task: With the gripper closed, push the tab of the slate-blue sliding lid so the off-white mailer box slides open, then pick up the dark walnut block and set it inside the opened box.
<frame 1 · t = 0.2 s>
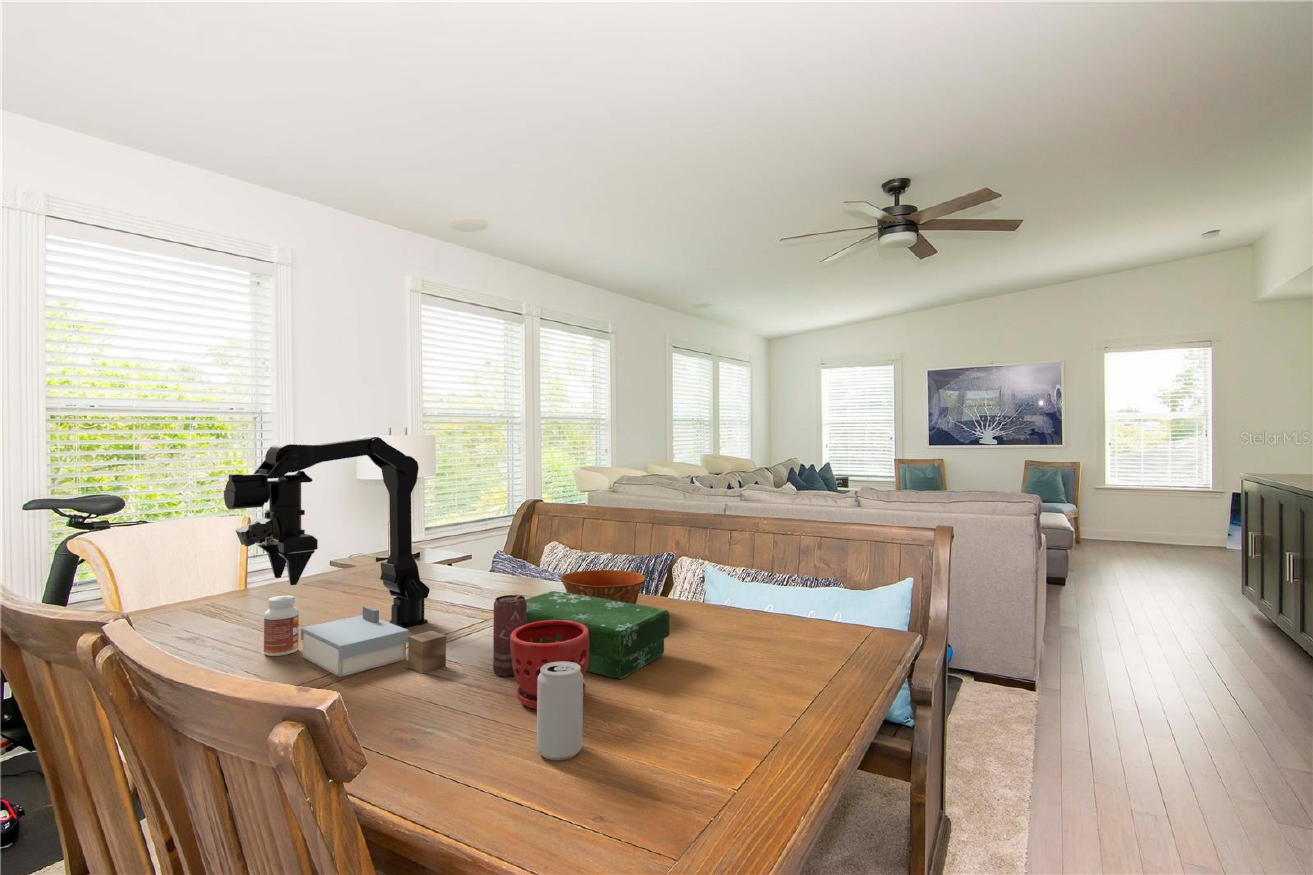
hand: (285, 581, 135), 14 cm above the table, fingers open, 9 cm apart
box: (582, 656, 135), on the table
beverage can: (559, 753, 93), on the table
bowl: (603, 617, 163), on the table
lid: (354, 628, 131), point 6 cm above the table, slide at 0.0 cm
pill bottle: (281, 653, 135), on the table
plant pot: (549, 701, 111), on the table
walnut block: (427, 667, 127), on the table
can: (510, 672, 124), on the table
mailer box: (354, 658, 131), on the table
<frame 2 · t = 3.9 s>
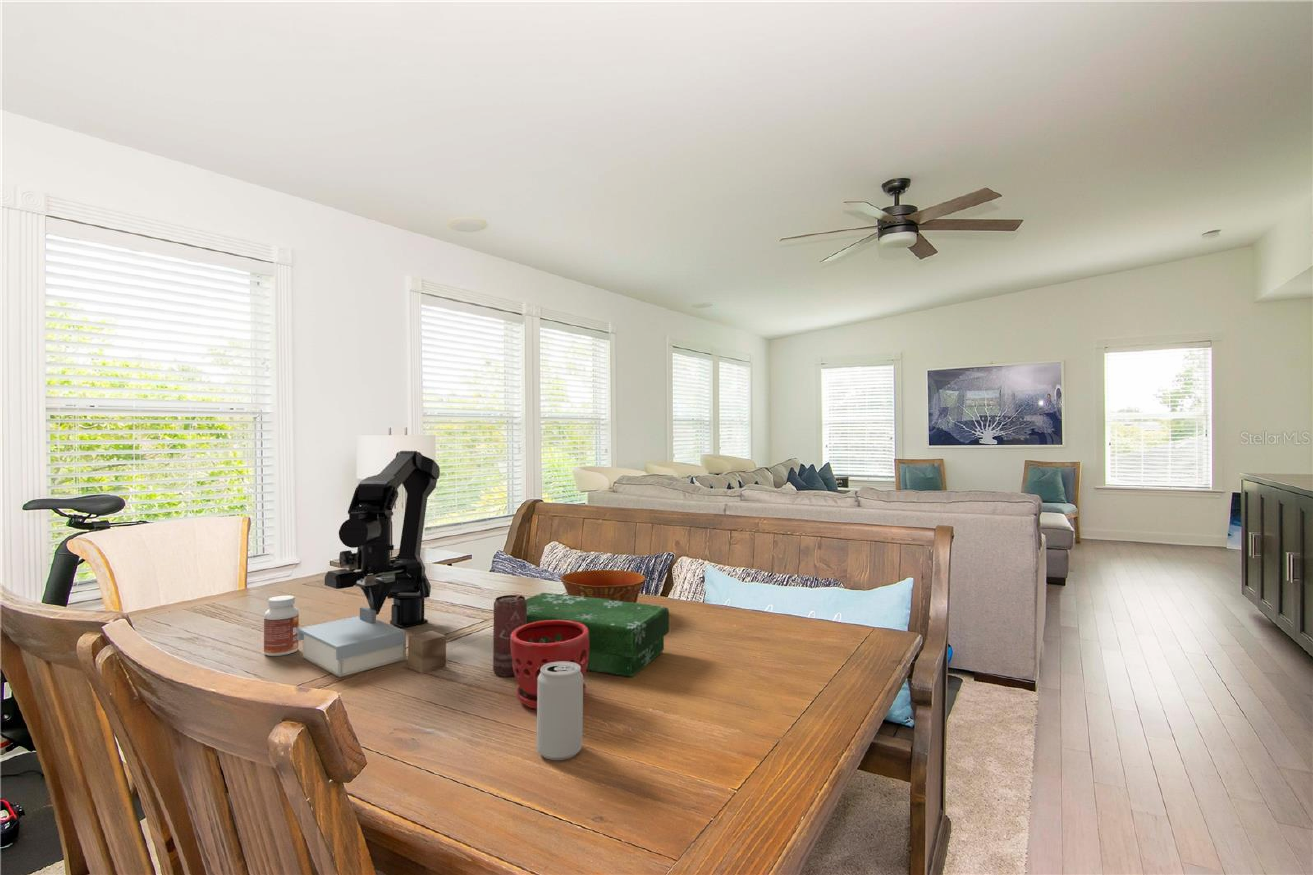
hand: (375, 614, 138), 7 cm above the table, fingers closed
lid: (351, 629, 130), point 6 cm above the table, slide at 0.6 cm, touching gripper
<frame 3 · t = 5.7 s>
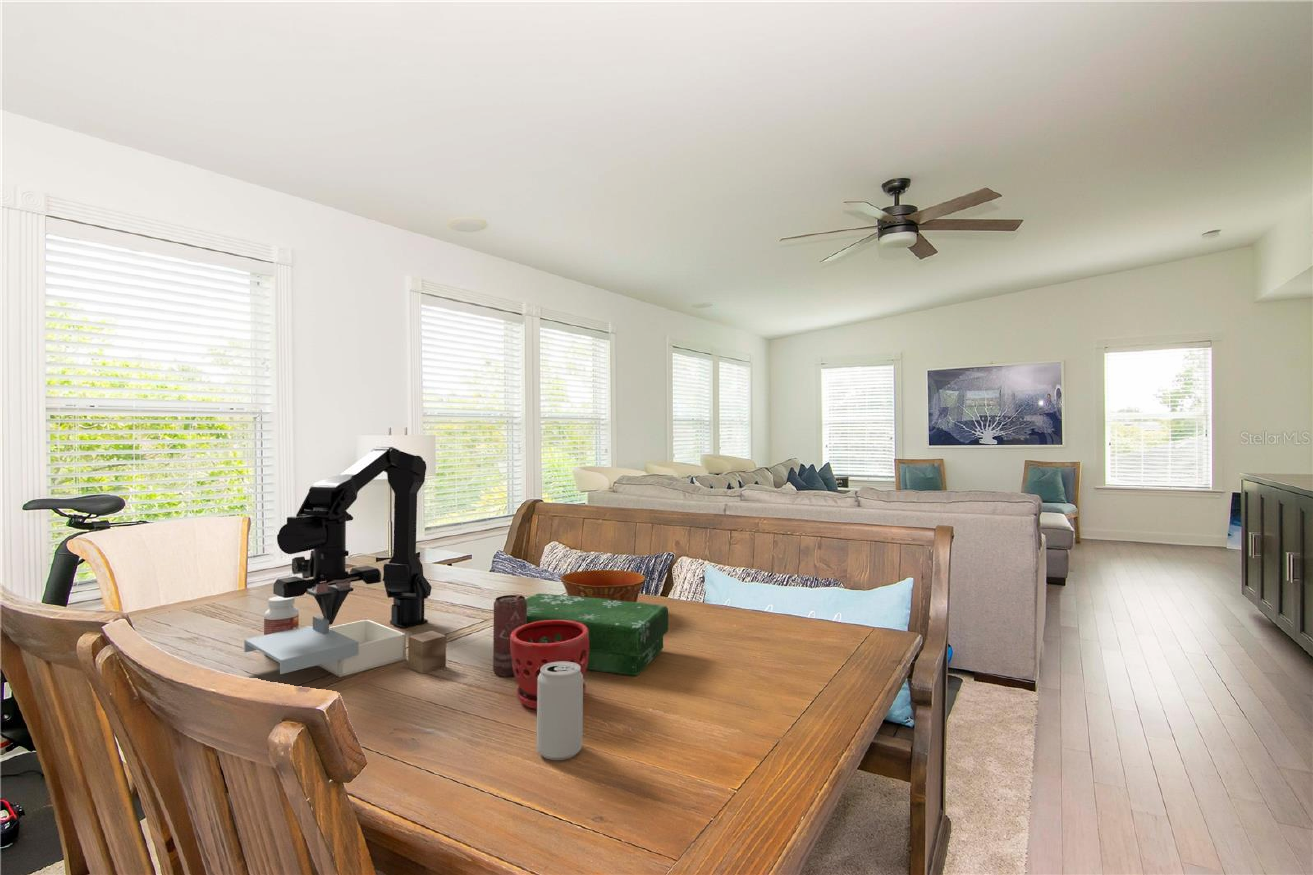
hand: (329, 624, 131), 7 cm above the table, fingers closed
lid: (301, 640, 123), point 6 cm above the table, slide at 10.0 cm, touching gripper
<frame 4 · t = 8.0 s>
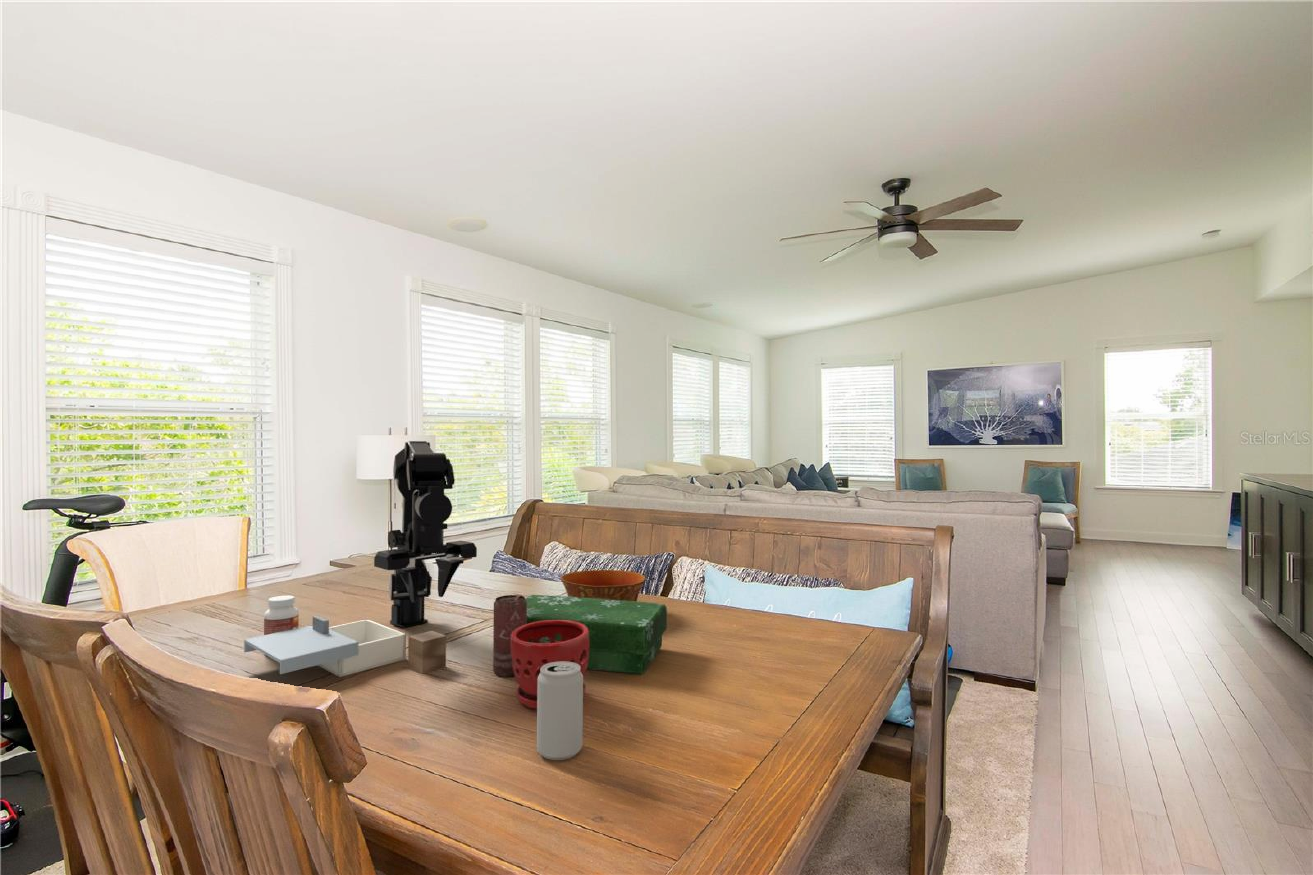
hand: (427, 599, 127), 13 cm above the table, fingers open, 5 cm apart
lid: (301, 640, 123), point 6 cm above the table, slide at 10.1 cm
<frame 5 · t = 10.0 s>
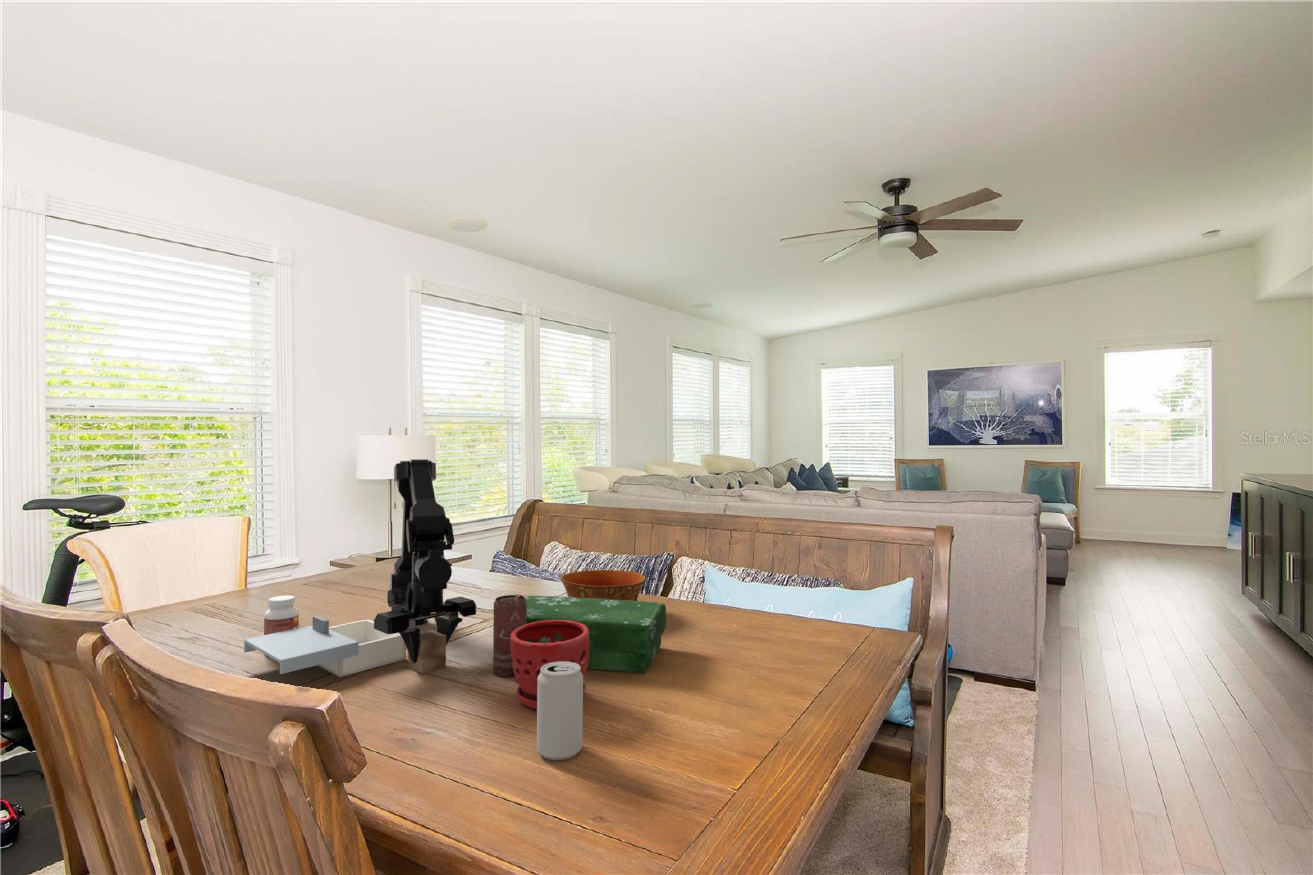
hand: (427, 658, 127), 2 cm above the table, fingers closed on walnut block, 5 cm apart
walnut block: (427, 666, 127), on the table, touching gripper
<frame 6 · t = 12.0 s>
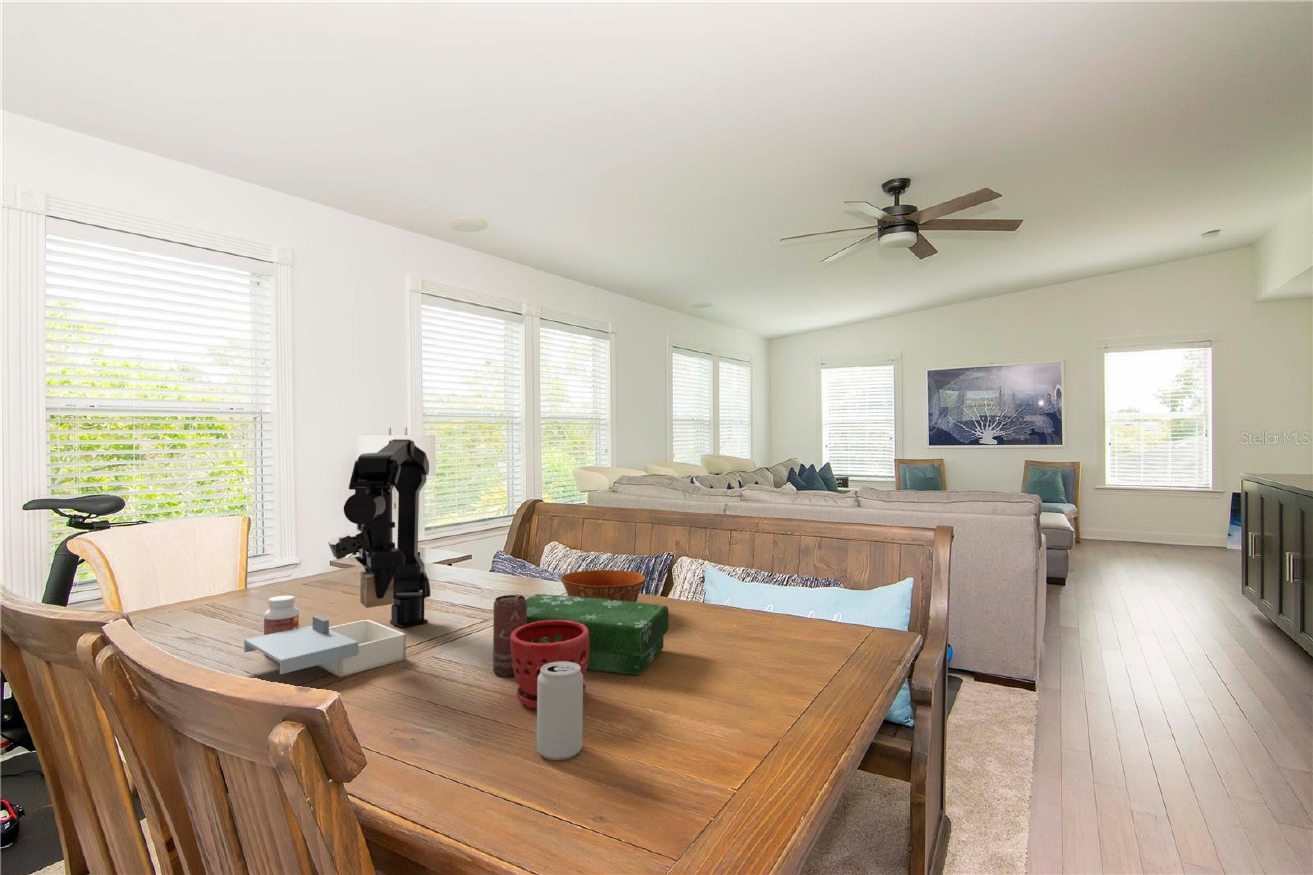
hand: (376, 595, 131), 13 cm above the table, fingers closed on walnut block, 5 cm apart
walnut block: (376, 603, 131), point 11 cm above the table, touching gripper
when the fingers open (4 cm above the table, at t = 14.3 s): walnut block drops 2 cm, resting on mailer box.
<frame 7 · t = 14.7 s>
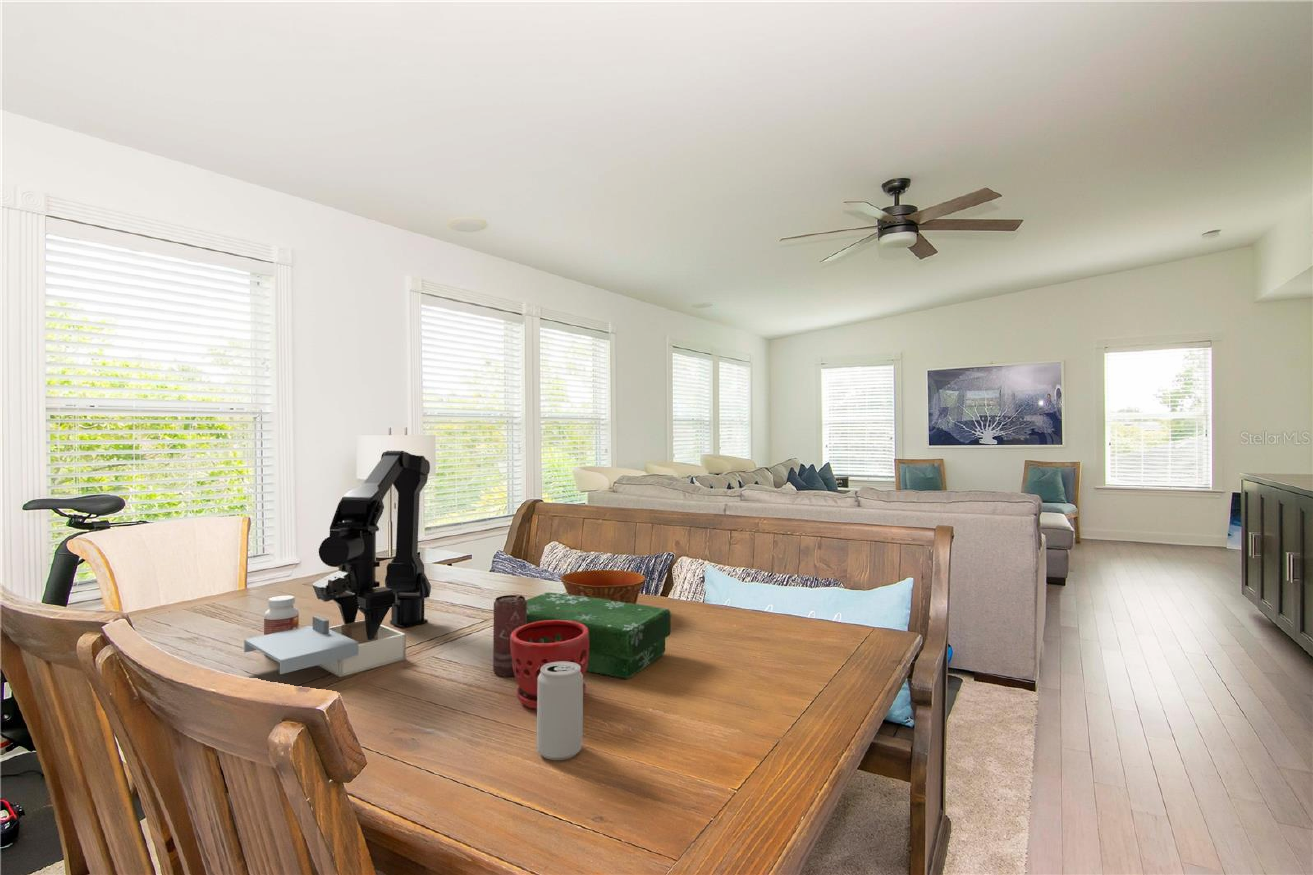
hand: (359, 634, 132), 4 cm above the table, fingers open, 9 cm apart
walnut block: (359, 654, 132), resting on mailer box
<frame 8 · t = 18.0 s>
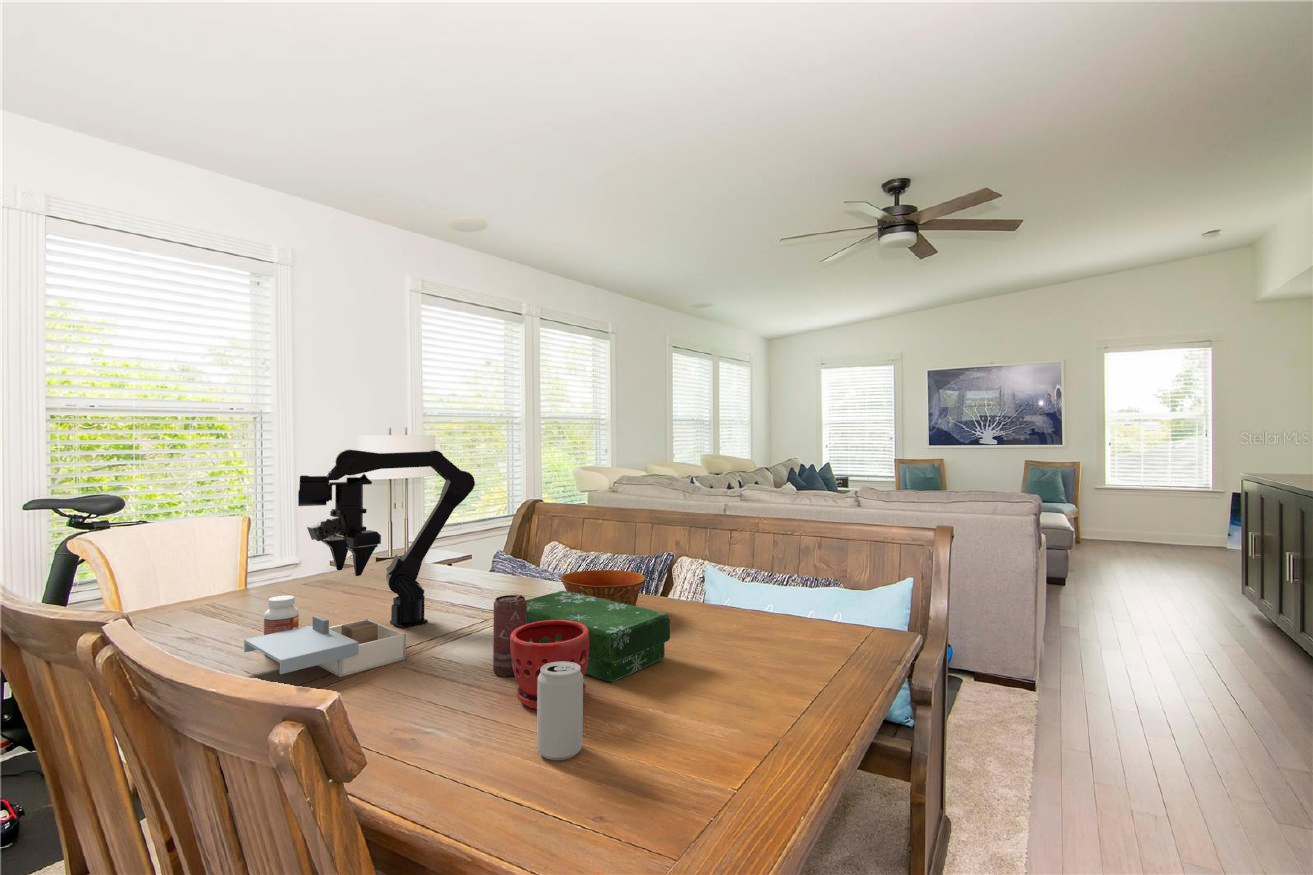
hand: (348, 573, 150), 13 cm above the table, fingers open, 9 cm apart
at the end: lid slide at 10.1 cm; walnut block inside the target area on the mailer box (0.5 cm from its centre), point 0.5 cm above the mailer box's base; the gripper is holding nothing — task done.
